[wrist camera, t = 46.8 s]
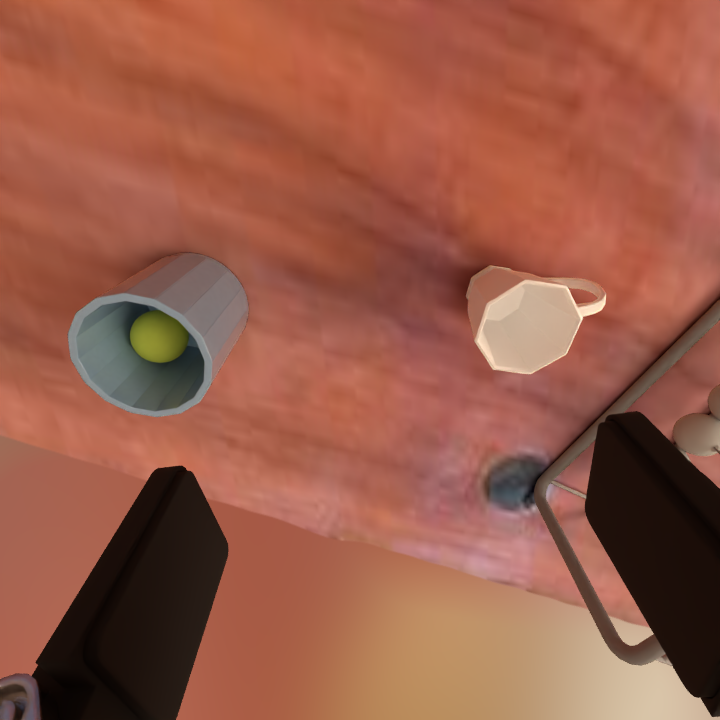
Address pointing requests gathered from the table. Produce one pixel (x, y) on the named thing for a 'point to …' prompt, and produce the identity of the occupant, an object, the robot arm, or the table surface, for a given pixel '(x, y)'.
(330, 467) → the table surface
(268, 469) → the table surface
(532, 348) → the cup
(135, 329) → the plum
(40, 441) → the table surface
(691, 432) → the newton's cradle
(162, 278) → the tumbler
